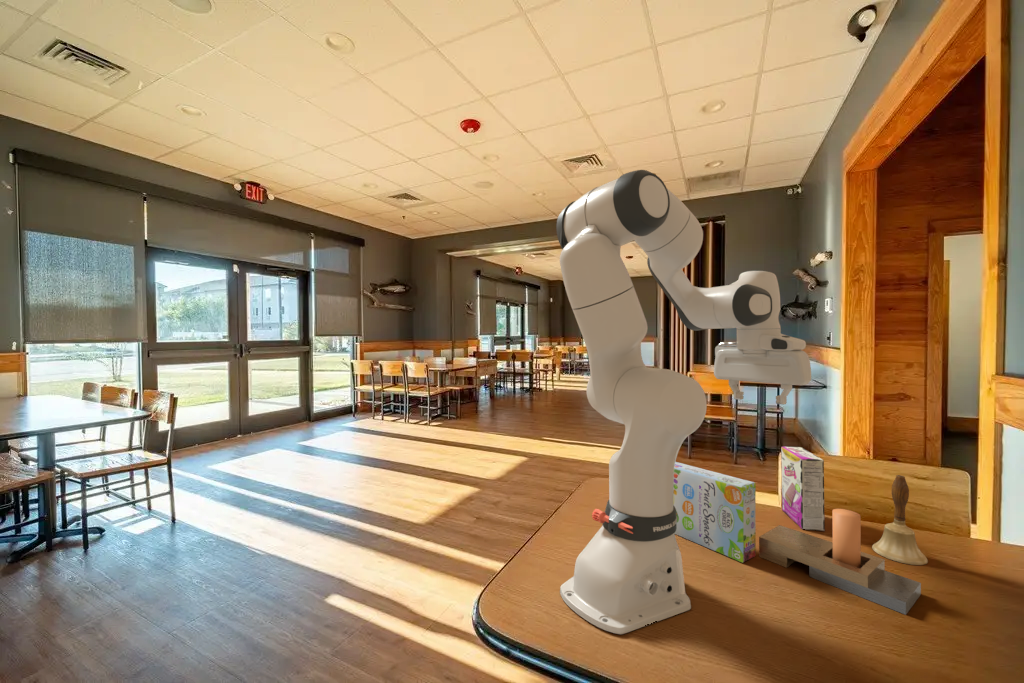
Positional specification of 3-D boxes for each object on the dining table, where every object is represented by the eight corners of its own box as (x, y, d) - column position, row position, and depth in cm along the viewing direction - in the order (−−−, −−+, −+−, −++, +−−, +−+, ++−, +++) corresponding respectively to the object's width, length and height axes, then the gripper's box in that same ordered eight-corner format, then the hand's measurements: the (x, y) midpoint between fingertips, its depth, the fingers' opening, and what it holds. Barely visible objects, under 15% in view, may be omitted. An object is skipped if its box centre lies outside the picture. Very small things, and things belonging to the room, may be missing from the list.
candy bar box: (780, 510, 107) (779, 445, 107) (802, 511, 106) (802, 446, 106) (801, 530, 96) (800, 458, 96) (825, 532, 95) (825, 459, 95)
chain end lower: (905, 614, 67) (905, 602, 67) (809, 576, 78) (809, 565, 78) (920, 594, 72) (920, 582, 72) (828, 561, 83) (828, 551, 83)
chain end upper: (867, 599, 71) (867, 576, 71) (759, 556, 85) (759, 536, 85) (884, 581, 76) (884, 559, 76) (779, 543, 90) (779, 525, 90)
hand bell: (928, 554, 85) (928, 475, 85) (927, 570, 79) (926, 485, 79) (874, 540, 91) (874, 466, 91) (869, 554, 85) (869, 475, 85)
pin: (856, 588, 74) (856, 519, 74) (829, 577, 77) (828, 512, 77) (864, 580, 76) (863, 514, 76) (837, 570, 79) (837, 507, 79)
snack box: (757, 556, 85) (757, 481, 85) (743, 565, 82) (742, 487, 82) (666, 519, 103) (666, 457, 102) (651, 525, 99) (651, 461, 99)
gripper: (708, 342, 105) (708, 397, 105) (801, 342, 88) (801, 408, 88) (722, 341, 108) (723, 395, 108) (814, 341, 91) (815, 405, 91)
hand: (759, 401), depth 98 cm, fingers open, 8 cm apart
